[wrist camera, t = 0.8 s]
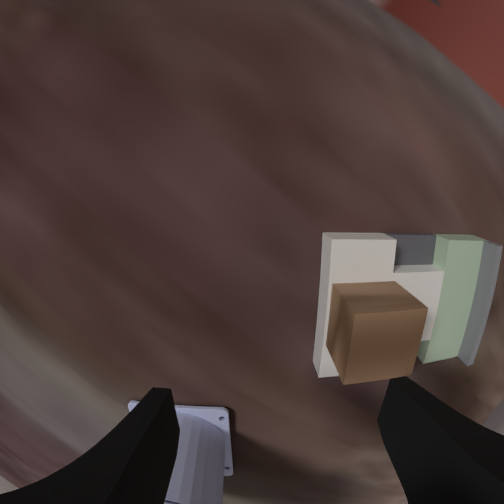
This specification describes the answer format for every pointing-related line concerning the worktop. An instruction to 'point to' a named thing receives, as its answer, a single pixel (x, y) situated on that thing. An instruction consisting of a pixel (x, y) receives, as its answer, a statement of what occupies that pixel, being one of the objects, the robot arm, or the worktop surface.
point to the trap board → (416, 285)
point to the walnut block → (374, 330)
